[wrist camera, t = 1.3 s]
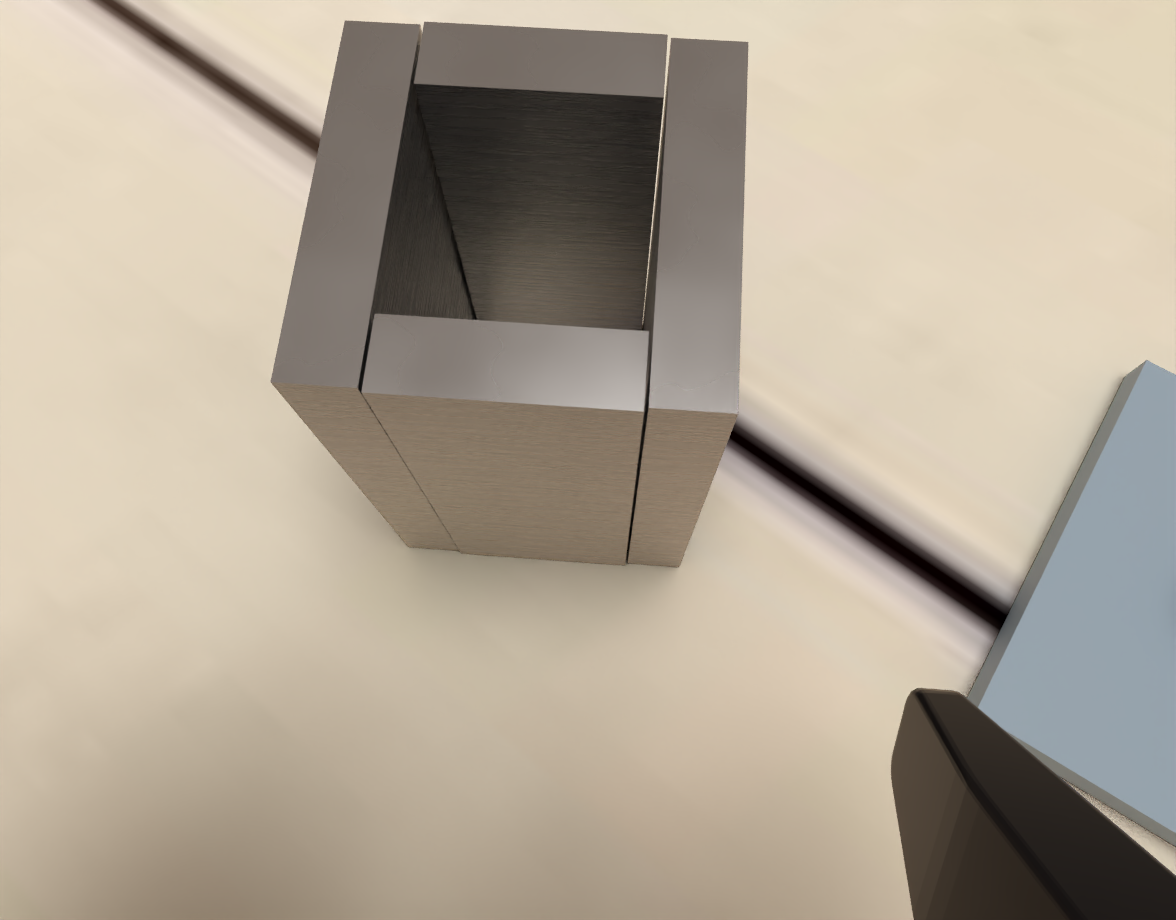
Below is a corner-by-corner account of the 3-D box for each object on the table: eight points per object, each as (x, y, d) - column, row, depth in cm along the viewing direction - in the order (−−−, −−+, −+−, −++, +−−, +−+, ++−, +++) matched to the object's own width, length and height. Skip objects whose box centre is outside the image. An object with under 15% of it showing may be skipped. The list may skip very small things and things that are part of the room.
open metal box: (679, 569, 22) (738, 418, 13) (408, 549, 23) (270, 385, 13) (690, 324, 24) (748, 39, 15) (442, 308, 25) (345, 18, 15)
